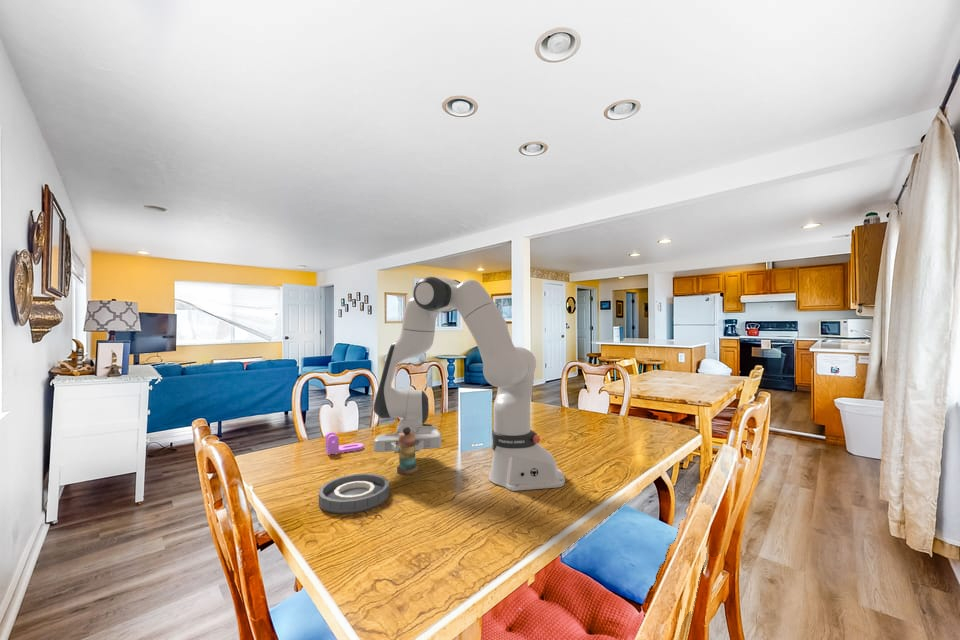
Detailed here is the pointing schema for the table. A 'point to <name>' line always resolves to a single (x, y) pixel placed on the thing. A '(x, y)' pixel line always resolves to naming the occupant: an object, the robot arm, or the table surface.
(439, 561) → the table surface
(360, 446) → the bracket
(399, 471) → the bead stack
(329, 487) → the tray
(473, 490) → the table surface
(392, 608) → the table surface
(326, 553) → the table surface
